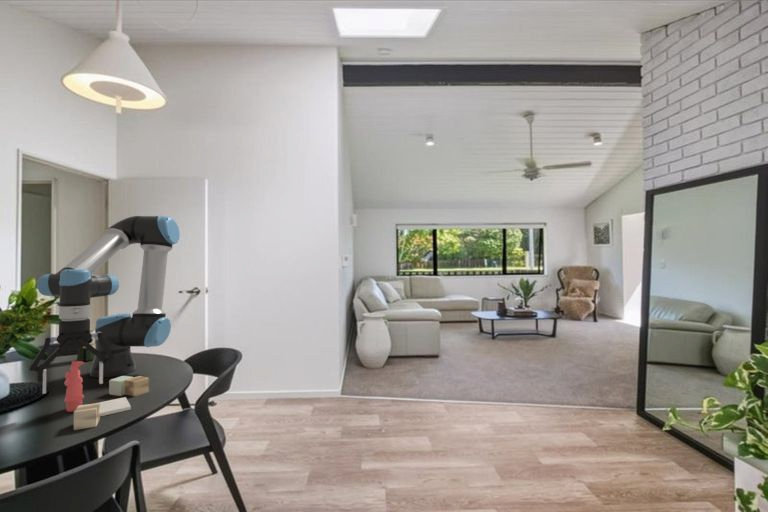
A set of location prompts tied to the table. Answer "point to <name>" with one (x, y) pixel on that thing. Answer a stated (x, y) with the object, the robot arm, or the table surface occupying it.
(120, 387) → the sage block
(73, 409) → the figurine
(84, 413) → the maple block
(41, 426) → the table surface
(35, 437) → the table surface
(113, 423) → the table surface
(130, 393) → the oak block
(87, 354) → the character mug
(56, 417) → the table surface
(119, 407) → the coaster
